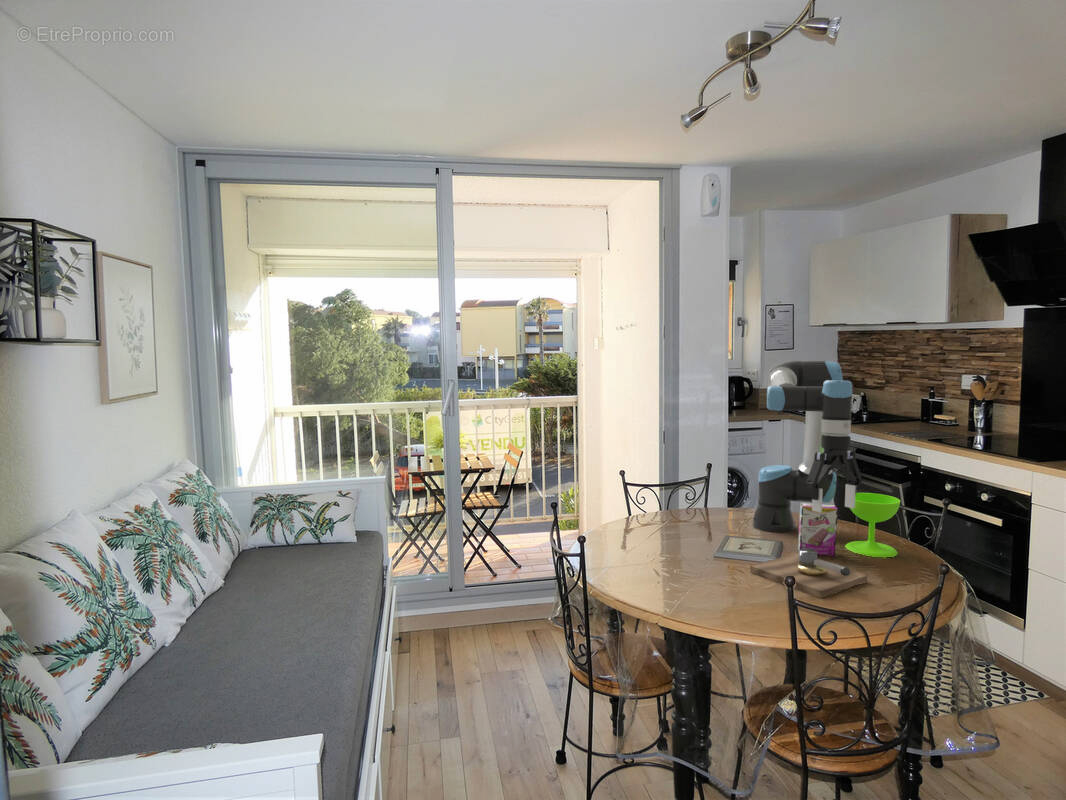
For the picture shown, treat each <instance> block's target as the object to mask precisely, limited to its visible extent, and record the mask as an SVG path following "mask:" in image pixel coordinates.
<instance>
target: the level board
mask: <svg viewBox="0 0 1066 800" xmlns="http://www.w3.org/2000/svg"><path fill="white" fill-rule="evenodd" d="M798 563H799V553H797V552H796V553H792V554H788V555H783V556H781V557H777V558H774V559H771V560H766V561H762V562H759V563H755V564H752V565H750V567H749V568H750V569H749V571H750V573H752V574H754V575H757V576H760V577H763V578H764V579H768V580H771V581H773V582H776V583H779V584H782V585H784V584H783V582H784V578H785V577H786V576H794V577H795V578H796V586H795V588H794V589H795V590H797V591H798V590H799V591H800V590H801V591H800V592H803V591H804V592H803V593H806V594H808V593H809V595H811V594H812V595H811V596H814V595H815V597H817V598H819V597H820V598H819V599H822V598H825V597H828V596H830V594H831V595H833V594H832V593H834V594H836V593H835V592H837V593H839V592H838V591H840V592H842V591H841V590H843V589H846V588H849V587H852V586H854V587H856V586H855V585H857V586H859V585H858V584H860V583H863V584H865V583H864V582H866V583H867V582H868V575H866V574H863V573H860V572H856V571H853V570H851V569H850V574H849V575H848V576H844V575H842V574H841V573H838V572H835V571H831V570H828V569H827V573H826V574H825V575H820V576H815V575H808V574H804V573H801V572H800V571H798ZM860 585H861V584H860ZM852 588H853V587H852ZM849 589H850V588H849ZM846 590H847V589H846ZM843 591H844V590H843ZM827 595H828V596H827ZM824 596H825V597H824ZM821 597H822V598H821Z"/></svg>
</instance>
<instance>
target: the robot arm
mask: <svg viewBox="0 0 1066 800" xmlns="http://www.w3.org/2000/svg"><path fill="white" fill-rule="evenodd" d="M841 367H842V366H841V364H840V363H838V362H836V361H829V360H812V361H811V360H808V361H807V360H804V361H803V360H800V361H796V360H793V361H786V362H784V363H781V364H779V365H777V366H775V367H774V368H772V369H771V370H770V372H769V373H768V376H767V385H768V387H767V388H766V389H767V390H766V408H767V410H770V411H778V412H781V411H785V412H788V411H789V412H805V422H804V438H803V440H804V443H803V459H802V460H803V461H802V462H801V463H800V464H799V465H798V467H797V468H798V469H793V468H792V466H791V465H784V464H776V465H775V464H774V465H769V466H768V465H767V466H764V467H762V468H761V469H759V472H758V478H757V479H758V480H757V481H758V495H757V498H758V499H757V506H756V509H755V512H754V515H753V518H752V527H754V528H756V529H758V530H762V531H767V532H772V533H773V532H776V533H777V532H778V533H785V532H791V531H794V530H795V529H796V523H795V522H796V521H795V520H794V516H793V513H792V509H791V508H792V507H791V505H792V504H791V502H800V503H811V504H812V511H816V512H822V504H829V503H831V502H832V501H833V500H834V498H835V494H836V490H837V489H836V488H837V477H838V476H837V473H836V472H834V471H833V469H837V468H839V471H840V472H841V473H842V475H843V477H844V479H845V481H846V484H844V485H845V489H844V490H845V491H844V492H845V493H844V508H849V509H850V508H855V495H856V493H857V486H858V487H859V486H860V485H861V483H863V478H862V476H861V472H860V469H859V466H858V462H857V460H856V451H855V450H850V449H851V436H850V435H851V429H852V428H851V427H852V407H853V405H852V404H853V403H852V400H853V382H852V381H850V380H844V378H843V372H842V371H843V370H842V368H841Z"/></svg>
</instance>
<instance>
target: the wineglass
mask: <svg viewBox="0 0 1066 800" xmlns="http://www.w3.org/2000/svg"><path fill="white" fill-rule="evenodd" d="M900 505H901V499H899V498H898V497H895V496H891V495H888V494H887V495H886V494H881V493H873V492H856V495H855V508H849V510H850V511H851V512H852V513H853V514H854V515H855V516H856V517H858V518H859V519H861V520H863V521H865V522H868V536H867V537H868V538H867V540H853V541H850V542H848V543H846V544H845V545H844V548H845V547H846V548H847V549H848V550H850V551H852V552H854V553H858V554H862V555H866V556H872V557H884V558H883V559H887V558H886V557H893V558H895V557H894V556H896V555H897V554H898V553H899V552H898V551H897V550H896V549H895V547H893V546H891V545H888V544H884V543H881V542H876V539H875V537H876V530H875V529H876V523H881V522H886V521H887V520H889V519H892V518H893V517H894V516H895V515H896V514H897V512H898V511H899V508H900ZM898 555H899V554H898ZM898 555H897V556H898ZM897 556H896V557H897Z"/></svg>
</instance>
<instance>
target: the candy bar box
mask: <svg viewBox="0 0 1066 800" xmlns="http://www.w3.org/2000/svg"><path fill="white" fill-rule="evenodd" d="M838 513H839V512H838V507H837V506H836V505H835V504H826V503H822V512H816V511H812V502H800V503H799V522H798V523H799V525H798V542H797V543H798V544H797V545H798V546H797V547H798V548H797V549H798V551H799V549H803V548H807V549H813V550H816V551H817V556H824V555H831V556H830V557H836V549H837V548H836V547H837V546H836V545H837V543H836V542H837V527H838Z"/></svg>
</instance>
